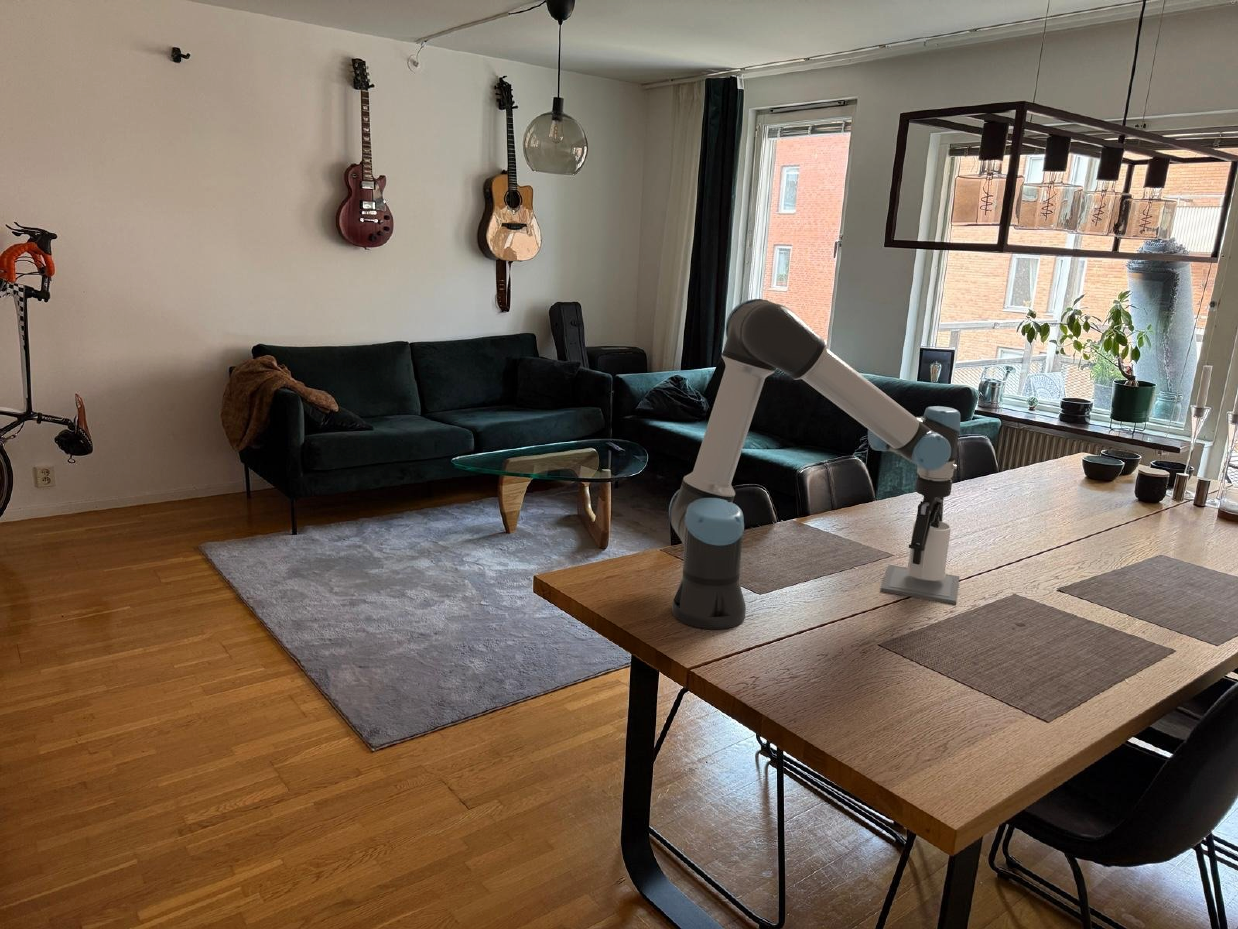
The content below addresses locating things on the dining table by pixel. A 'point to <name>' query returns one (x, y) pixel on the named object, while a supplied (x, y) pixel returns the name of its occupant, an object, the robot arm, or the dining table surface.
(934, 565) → the mug
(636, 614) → the dining table surface
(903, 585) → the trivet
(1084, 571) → the dining table surface
